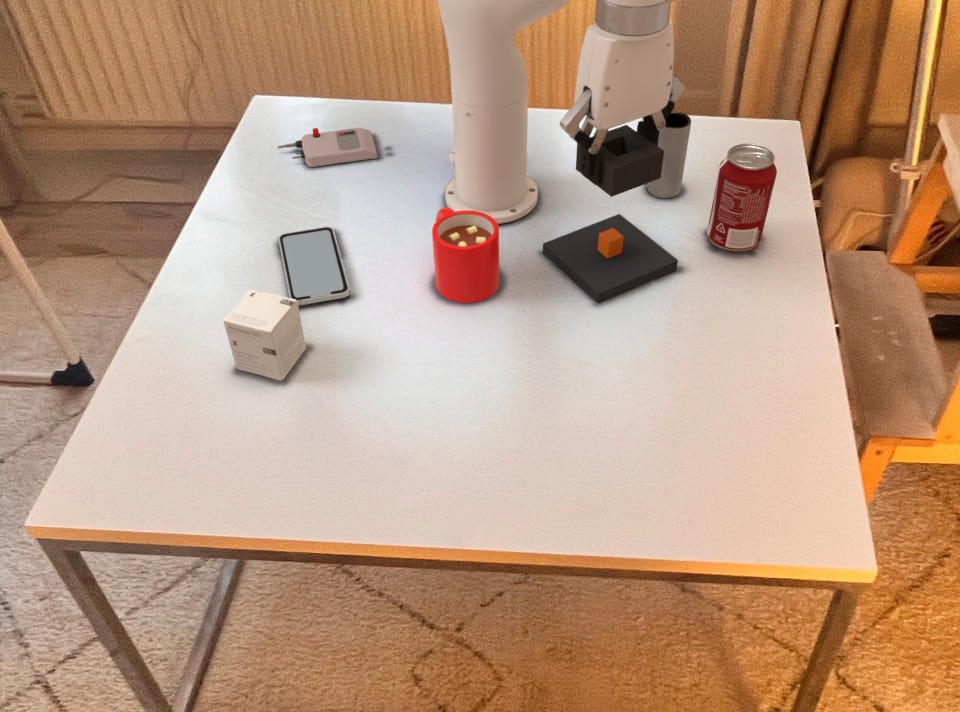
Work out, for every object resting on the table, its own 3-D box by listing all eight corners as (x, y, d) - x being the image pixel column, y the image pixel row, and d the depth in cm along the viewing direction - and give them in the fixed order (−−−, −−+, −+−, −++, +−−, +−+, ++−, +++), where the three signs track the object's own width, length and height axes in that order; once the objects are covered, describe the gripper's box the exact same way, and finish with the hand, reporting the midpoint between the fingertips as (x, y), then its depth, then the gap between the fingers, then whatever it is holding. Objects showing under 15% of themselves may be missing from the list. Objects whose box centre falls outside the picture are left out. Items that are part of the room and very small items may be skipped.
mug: (465, 239, 120) (463, 186, 114) (511, 290, 113) (511, 235, 107) (411, 258, 118) (405, 204, 112) (454, 310, 111) (450, 256, 105)
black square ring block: (575, 169, 108) (577, 141, 105) (624, 151, 110) (626, 124, 108) (611, 197, 104) (613, 169, 101) (660, 178, 106) (664, 150, 103)
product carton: (235, 370, 105) (220, 320, 99) (262, 336, 108) (249, 286, 103) (283, 382, 103) (270, 332, 98) (308, 348, 107) (297, 297, 101)
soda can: (759, 258, 116) (780, 173, 107) (705, 252, 117) (721, 168, 108) (759, 227, 121) (779, 143, 112) (707, 222, 122) (722, 138, 113)
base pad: (542, 253, 118) (543, 226, 115) (618, 223, 122) (621, 196, 119) (598, 303, 111) (600, 276, 108) (676, 270, 115) (681, 243, 112)
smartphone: (333, 225, 122) (351, 292, 112) (334, 231, 123) (352, 298, 112) (276, 234, 121) (290, 302, 111) (278, 240, 121) (291, 309, 111)
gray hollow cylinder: (687, 191, 127) (698, 121, 119) (662, 202, 125) (672, 132, 117) (665, 176, 129) (674, 107, 121) (640, 187, 127) (648, 117, 120)
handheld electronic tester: (390, 157, 134) (388, 138, 132) (281, 172, 132) (278, 153, 130) (383, 134, 139) (381, 115, 137) (278, 148, 137) (274, 129, 135)
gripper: (676, -21, 98) (657, 133, 112) (539, 19, 93) (536, 176, 106) (723, 3, 94) (698, 161, 107) (583, 46, 88) (574, 207, 101)
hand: (618, 167), depth 106 cm, fingers closed on black square ring block, 7 cm apart
